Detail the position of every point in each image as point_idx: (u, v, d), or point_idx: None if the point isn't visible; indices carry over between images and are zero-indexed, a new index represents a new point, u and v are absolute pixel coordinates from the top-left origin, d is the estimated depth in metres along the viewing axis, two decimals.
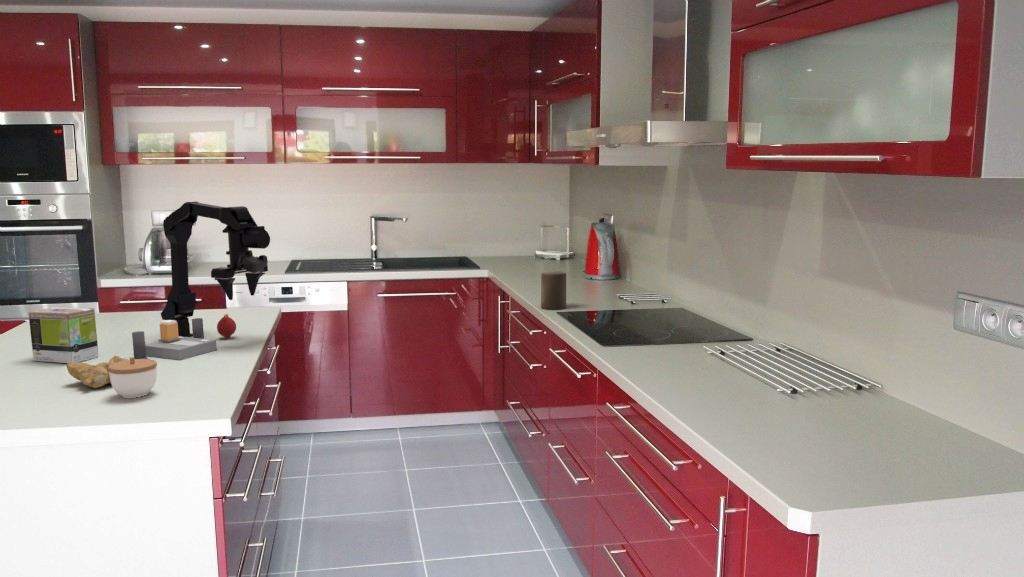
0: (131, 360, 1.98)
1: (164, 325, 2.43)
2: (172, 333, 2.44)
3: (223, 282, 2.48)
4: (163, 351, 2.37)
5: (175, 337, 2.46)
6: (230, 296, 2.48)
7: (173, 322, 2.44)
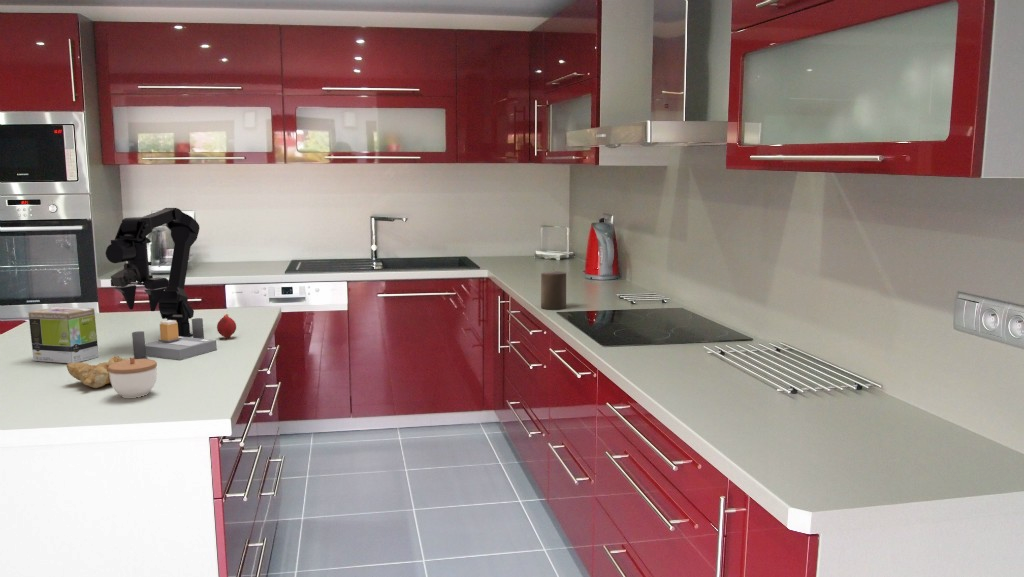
0: (131, 360, 1.98)
1: (164, 325, 2.43)
2: (172, 333, 2.44)
3: None
4: (163, 351, 2.37)
5: (175, 337, 2.46)
6: None
7: (173, 322, 2.44)
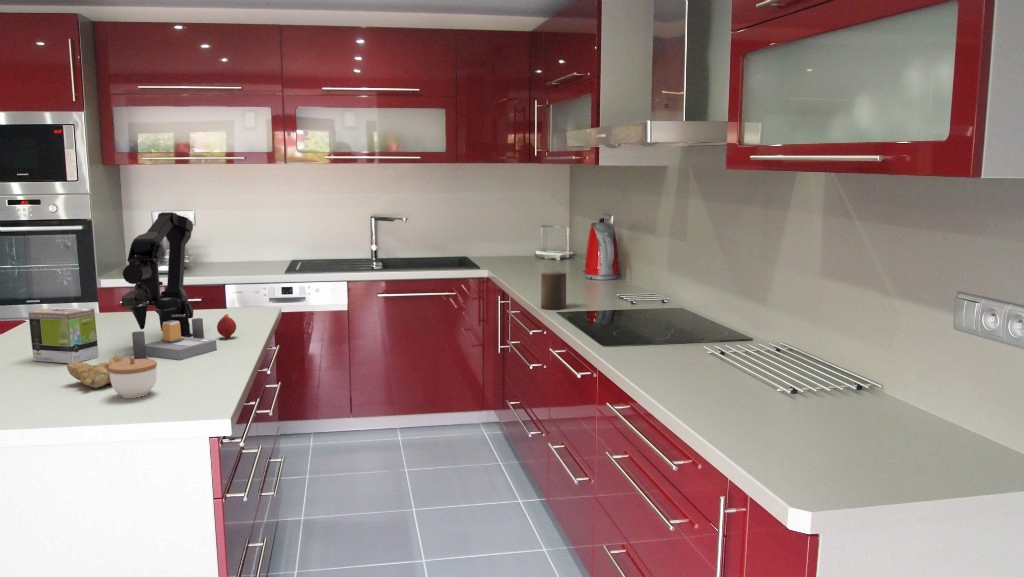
0: (131, 360, 1.98)
1: (166, 325, 2.42)
2: (174, 333, 2.44)
3: None
4: (163, 351, 2.37)
5: (177, 337, 2.45)
6: None
7: (175, 322, 2.44)
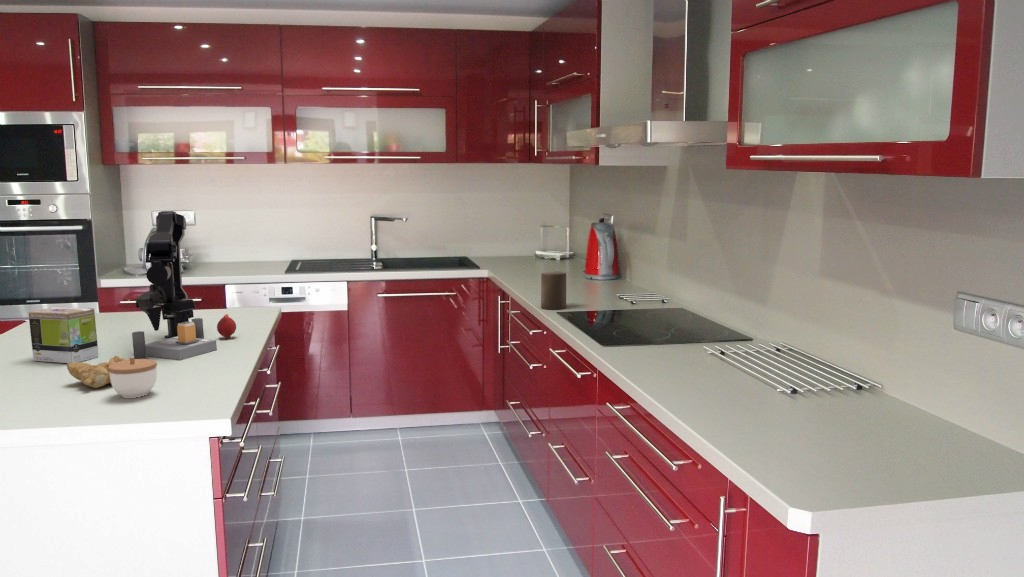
0: (131, 360, 1.98)
1: (182, 327, 2.40)
2: (189, 334, 2.41)
3: None
4: (163, 351, 2.37)
5: (193, 339, 2.42)
6: None
7: (191, 324, 2.41)
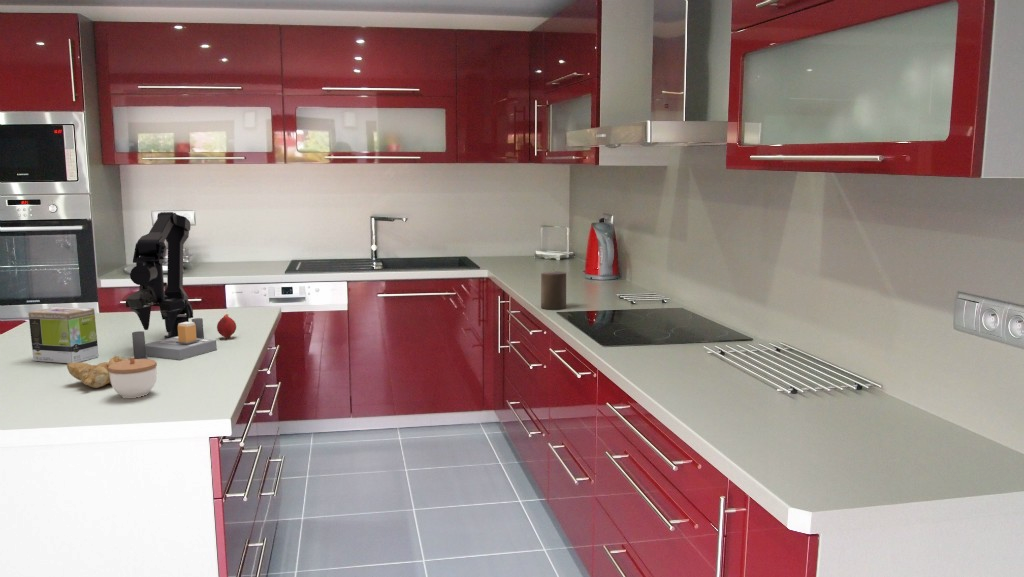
0: (131, 360, 1.98)
1: (182, 327, 2.40)
2: (190, 334, 2.41)
3: None
4: (163, 351, 2.37)
5: (193, 339, 2.42)
6: None
7: (191, 324, 2.41)
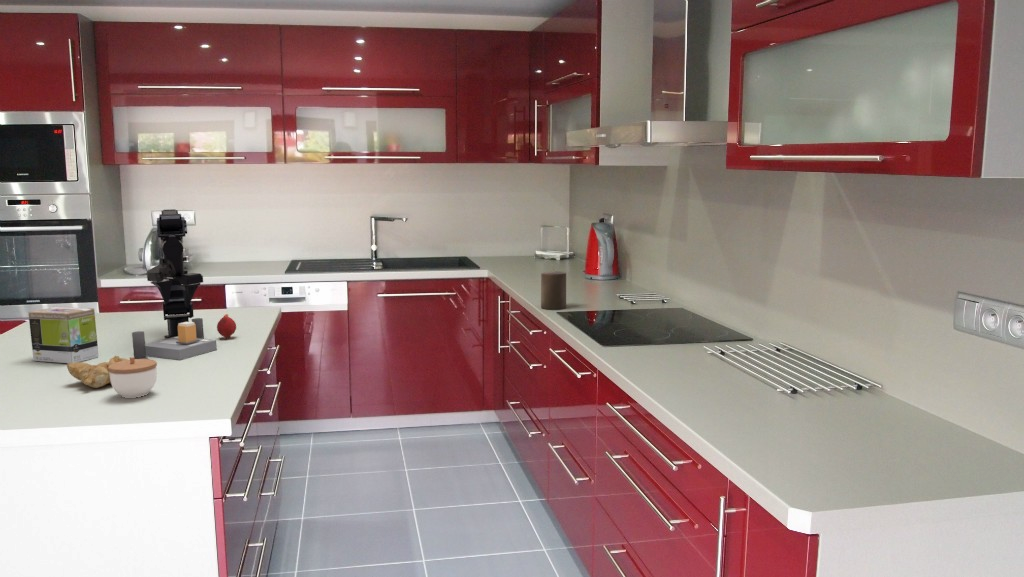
0: (131, 360, 1.98)
1: (182, 327, 2.40)
2: (190, 334, 2.41)
3: None
4: (163, 351, 2.37)
5: (193, 339, 2.42)
6: None
7: (191, 324, 2.41)
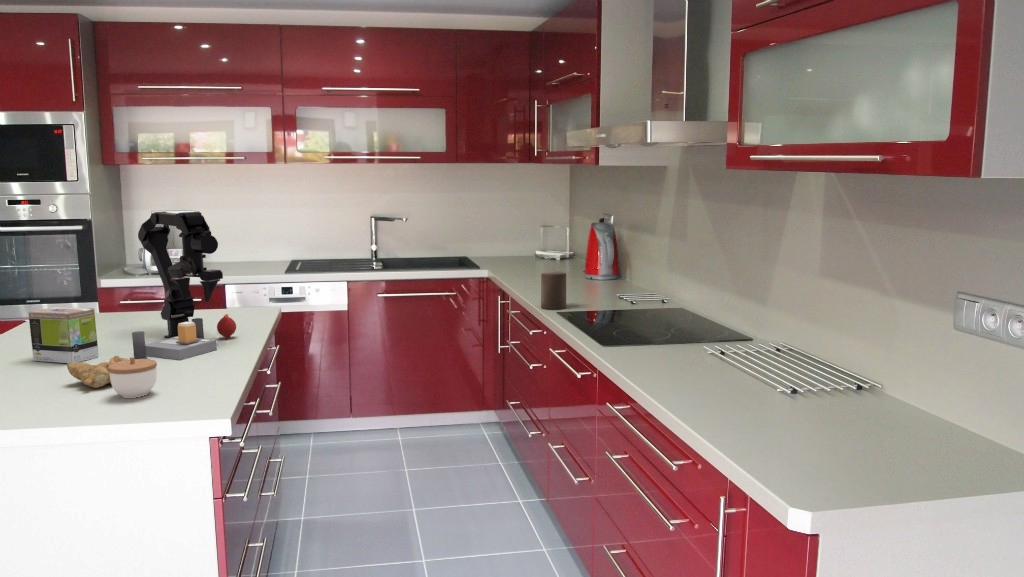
0: (131, 360, 1.98)
1: (182, 327, 2.40)
2: (190, 334, 2.41)
3: None
4: (163, 351, 2.37)
5: (193, 339, 2.42)
6: None
7: (191, 324, 2.41)
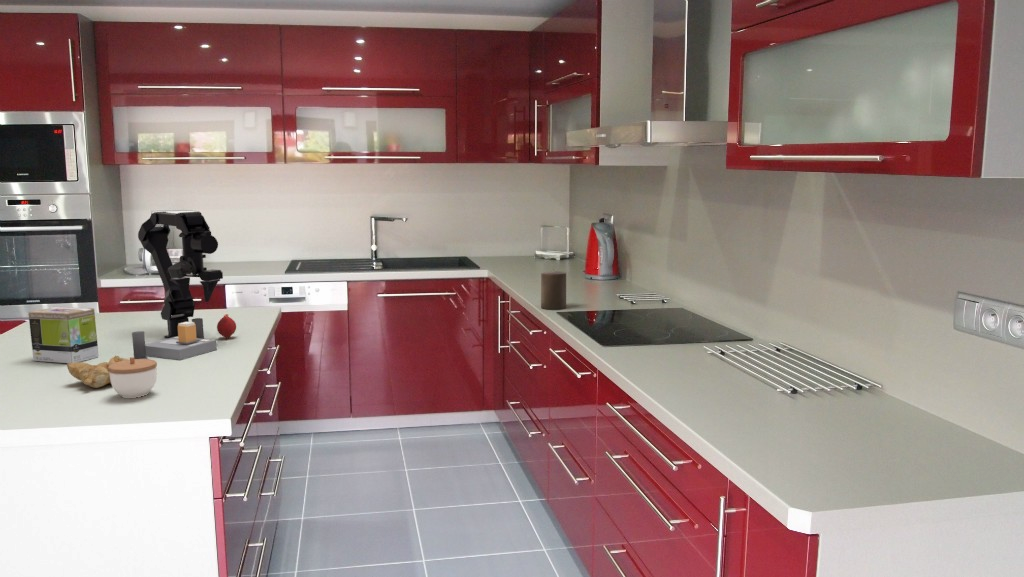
0: (131, 360, 1.98)
1: (182, 327, 2.40)
2: (190, 334, 2.41)
3: None
4: (163, 351, 2.37)
5: (193, 339, 2.42)
6: None
7: (191, 324, 2.41)
